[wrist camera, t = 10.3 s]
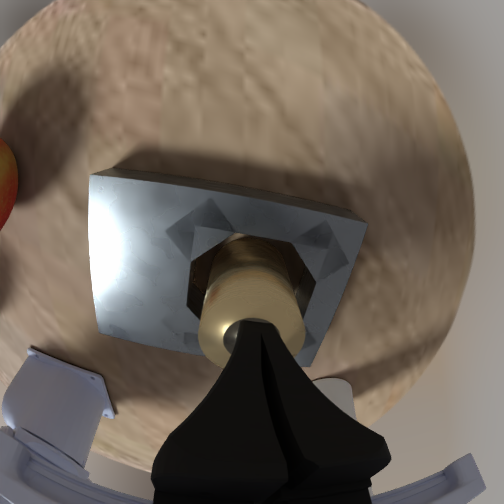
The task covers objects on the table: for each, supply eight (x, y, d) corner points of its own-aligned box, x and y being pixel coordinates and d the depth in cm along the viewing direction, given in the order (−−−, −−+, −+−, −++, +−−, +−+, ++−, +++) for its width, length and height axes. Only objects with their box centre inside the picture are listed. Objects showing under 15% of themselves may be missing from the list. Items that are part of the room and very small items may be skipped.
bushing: (206, 297, 17) (193, 367, 12) (217, 231, 15) (204, 286, 10) (275, 308, 18) (287, 379, 12) (294, 245, 16) (320, 305, 10)
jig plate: (112, 311, 17) (99, 332, 15) (111, 167, 14) (90, 174, 11) (303, 342, 19) (309, 367, 17) (350, 210, 15) (368, 223, 13)
